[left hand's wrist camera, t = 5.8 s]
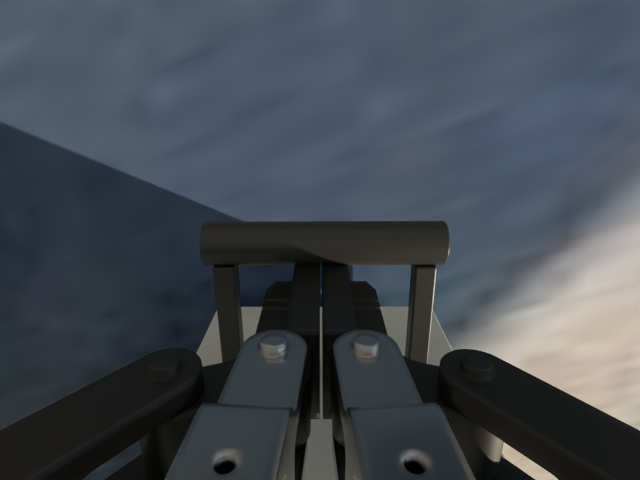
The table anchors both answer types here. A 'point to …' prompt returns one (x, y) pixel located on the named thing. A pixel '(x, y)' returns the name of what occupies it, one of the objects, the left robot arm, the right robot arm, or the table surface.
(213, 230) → the drawer
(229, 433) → the left robot arm
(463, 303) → the table surface
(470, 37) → the table surface
